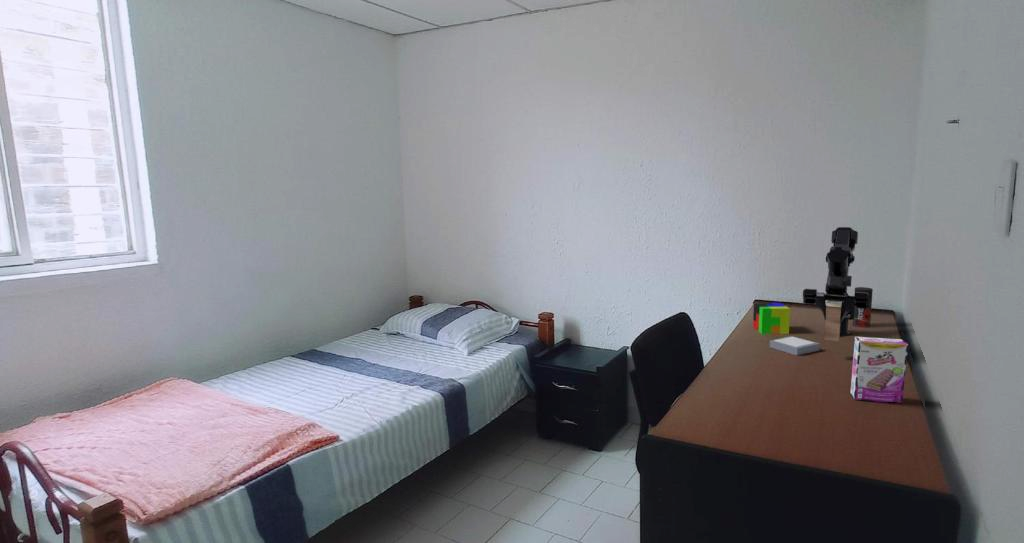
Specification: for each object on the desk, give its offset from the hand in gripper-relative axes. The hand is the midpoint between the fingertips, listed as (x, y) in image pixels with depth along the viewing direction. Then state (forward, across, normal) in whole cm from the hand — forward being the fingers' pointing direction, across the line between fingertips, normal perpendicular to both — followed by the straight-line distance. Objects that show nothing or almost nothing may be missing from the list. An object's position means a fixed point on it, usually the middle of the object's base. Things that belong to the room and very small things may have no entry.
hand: (832, 320), depth 177 cm
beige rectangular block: (+4, 0, +6) cm, 7 cm away
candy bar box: (+32, +13, -13) cm, 36 cm away
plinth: (+4, -12, +15) cm, 19 cm away
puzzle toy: (-11, -22, +31) cm, 40 cm away
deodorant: (-27, +7, +47) cm, 55 cm away
